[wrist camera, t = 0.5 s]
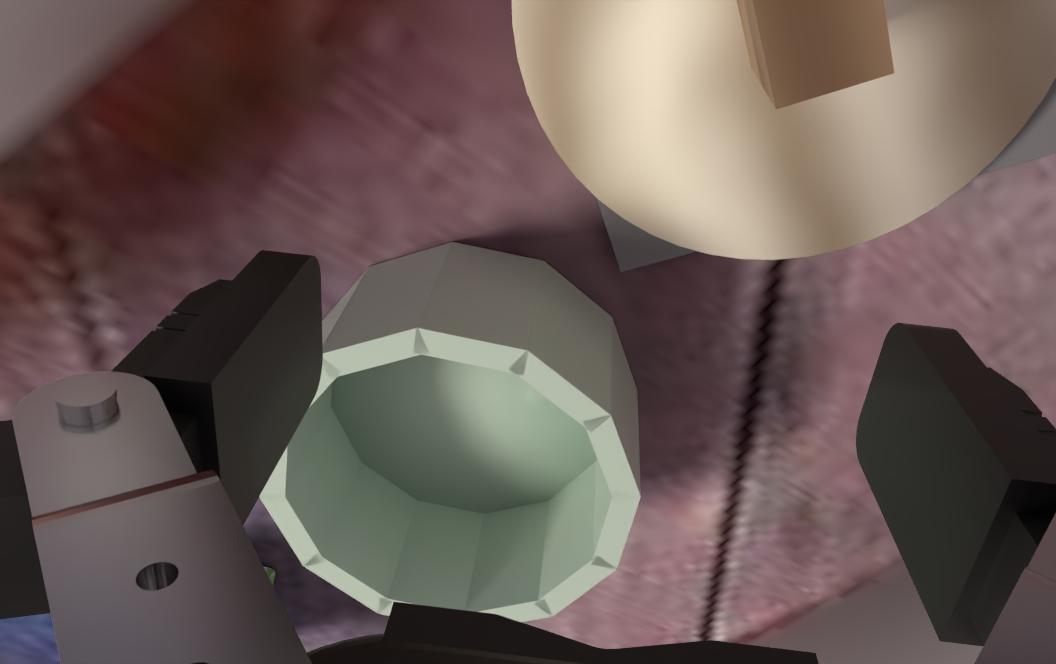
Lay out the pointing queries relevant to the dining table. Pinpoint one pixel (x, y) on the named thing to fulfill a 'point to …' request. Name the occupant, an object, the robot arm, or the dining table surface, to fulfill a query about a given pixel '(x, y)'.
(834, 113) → the lid
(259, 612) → the robot arm
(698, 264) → the dining table surface
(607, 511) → the bowl
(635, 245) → the mat
